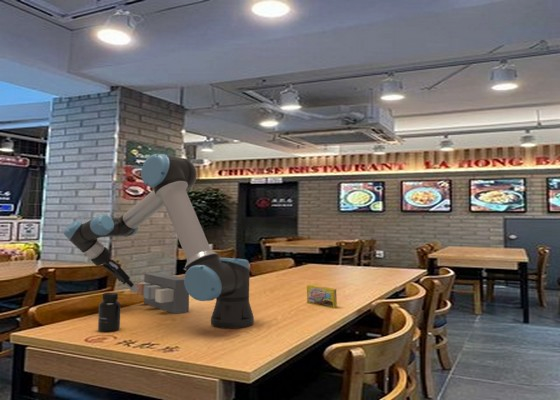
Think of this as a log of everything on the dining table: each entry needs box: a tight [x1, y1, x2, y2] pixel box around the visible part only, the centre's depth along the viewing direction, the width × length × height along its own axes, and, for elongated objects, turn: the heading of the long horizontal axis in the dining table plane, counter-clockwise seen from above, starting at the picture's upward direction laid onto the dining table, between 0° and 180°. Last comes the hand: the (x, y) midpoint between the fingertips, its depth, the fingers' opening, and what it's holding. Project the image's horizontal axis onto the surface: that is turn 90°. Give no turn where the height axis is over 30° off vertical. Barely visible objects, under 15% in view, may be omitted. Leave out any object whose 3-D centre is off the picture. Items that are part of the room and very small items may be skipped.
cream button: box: [155, 288, 174, 303], centre depth 178 cm, size 8×5×5 cm, turn 130°
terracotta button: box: [136, 281, 150, 296], centre depth 196 cm, size 8×5×5 cm, turn 130°
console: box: [143, 272, 190, 315], centre depth 190 cm, size 6×29×13 cm, turn 40°
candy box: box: [306, 284, 338, 309], centre depth 196 cm, size 16×2×8 cm, turn 42°
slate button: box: [143, 285, 162, 299], centre depth 187 cm, size 8×5×5 cm, turn 130°
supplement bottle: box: [97, 292, 122, 333], centre depth 151 cm, size 7×7×12 cm
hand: (136, 290), depth 193 cm, fingers closed
